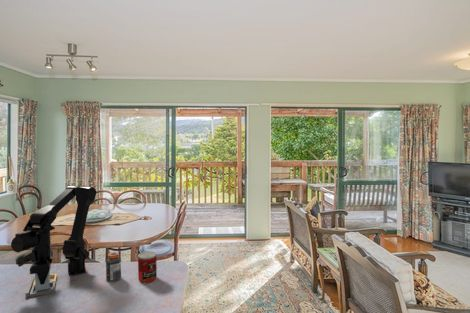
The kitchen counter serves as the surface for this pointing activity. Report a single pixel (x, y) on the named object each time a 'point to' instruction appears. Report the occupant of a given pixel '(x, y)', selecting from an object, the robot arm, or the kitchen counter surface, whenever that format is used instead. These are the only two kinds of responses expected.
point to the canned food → (147, 267)
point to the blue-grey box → (43, 286)
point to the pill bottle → (113, 267)
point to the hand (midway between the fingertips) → (43, 281)
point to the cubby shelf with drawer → (32, 287)
